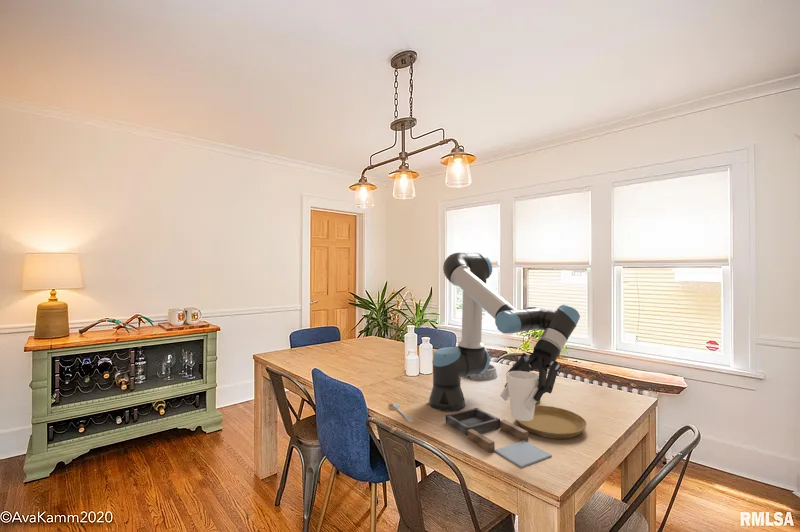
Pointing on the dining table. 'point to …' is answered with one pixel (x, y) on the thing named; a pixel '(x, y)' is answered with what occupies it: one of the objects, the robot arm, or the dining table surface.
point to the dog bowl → (486, 374)
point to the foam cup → (521, 393)
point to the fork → (402, 412)
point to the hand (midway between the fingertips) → (515, 403)
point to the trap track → (482, 427)
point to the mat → (523, 453)
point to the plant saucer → (554, 423)
